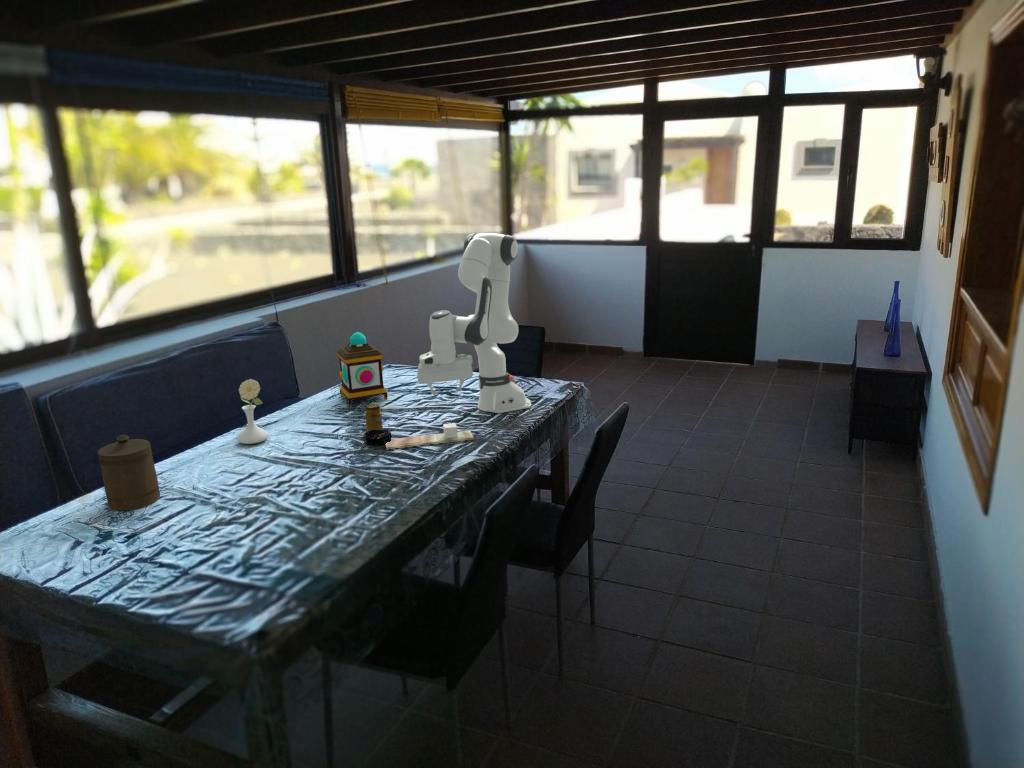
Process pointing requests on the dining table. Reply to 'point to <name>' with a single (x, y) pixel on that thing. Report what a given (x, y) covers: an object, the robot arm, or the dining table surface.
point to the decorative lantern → (360, 369)
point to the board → (427, 440)
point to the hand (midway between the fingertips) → (446, 392)
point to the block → (450, 430)
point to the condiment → (373, 417)
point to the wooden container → (129, 474)
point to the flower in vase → (251, 414)
